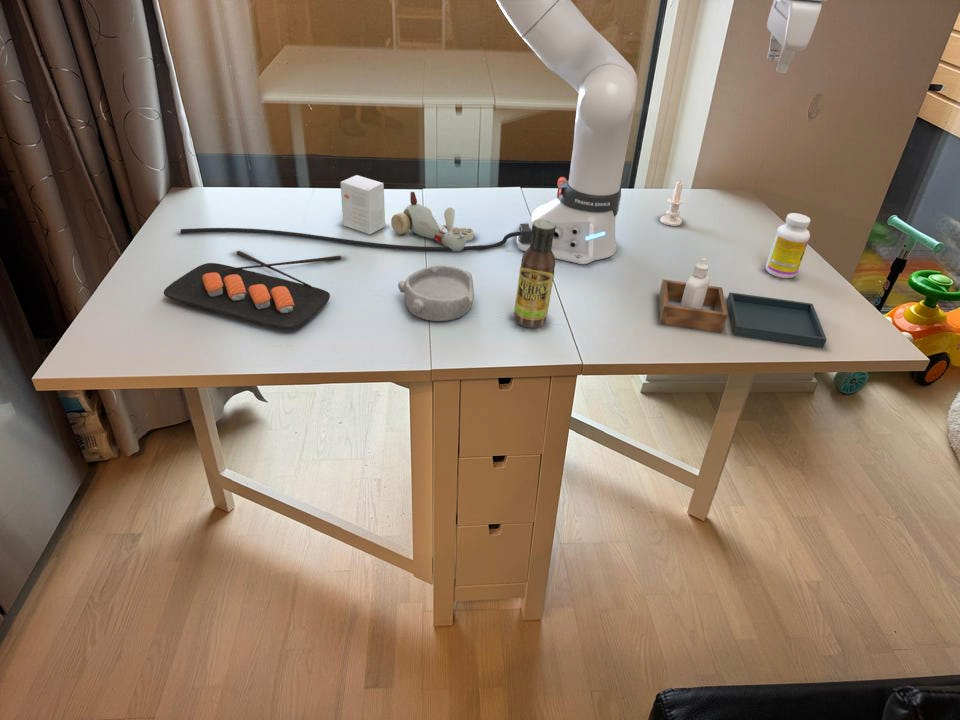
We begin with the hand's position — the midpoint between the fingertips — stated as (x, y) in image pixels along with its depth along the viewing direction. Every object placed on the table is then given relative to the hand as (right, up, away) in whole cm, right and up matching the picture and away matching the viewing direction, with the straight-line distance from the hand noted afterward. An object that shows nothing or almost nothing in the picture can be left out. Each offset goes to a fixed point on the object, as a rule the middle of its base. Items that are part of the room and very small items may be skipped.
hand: (775, 66), depth 131 cm
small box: (-80, -23, +33) cm, 90 cm away
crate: (-13, -44, +10) cm, 47 cm away
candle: (-7, -20, +45) cm, 50 cm away
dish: (-62, -43, +7) cm, 76 cm away
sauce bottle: (-44, -46, +4) cm, 64 cm away
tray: (+3, -46, +9) cm, 47 cm away
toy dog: (-65, -26, +30) cm, 76 cm away
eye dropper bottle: (-13, -45, +10) cm, 47 cm away
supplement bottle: (+12, -34, +27) cm, 45 cm away
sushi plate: (-95, -39, +10) cm, 103 cm away
